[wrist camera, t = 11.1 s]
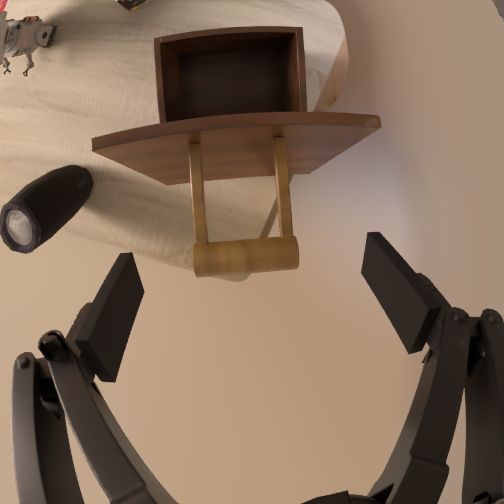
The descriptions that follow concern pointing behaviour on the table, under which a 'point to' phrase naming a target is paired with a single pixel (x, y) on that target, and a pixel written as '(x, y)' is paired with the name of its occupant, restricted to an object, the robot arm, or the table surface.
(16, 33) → the figurine
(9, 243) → the portable speaker
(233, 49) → the chest
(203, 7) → the table surface
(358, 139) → the chest lid
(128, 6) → the medicine bottle
